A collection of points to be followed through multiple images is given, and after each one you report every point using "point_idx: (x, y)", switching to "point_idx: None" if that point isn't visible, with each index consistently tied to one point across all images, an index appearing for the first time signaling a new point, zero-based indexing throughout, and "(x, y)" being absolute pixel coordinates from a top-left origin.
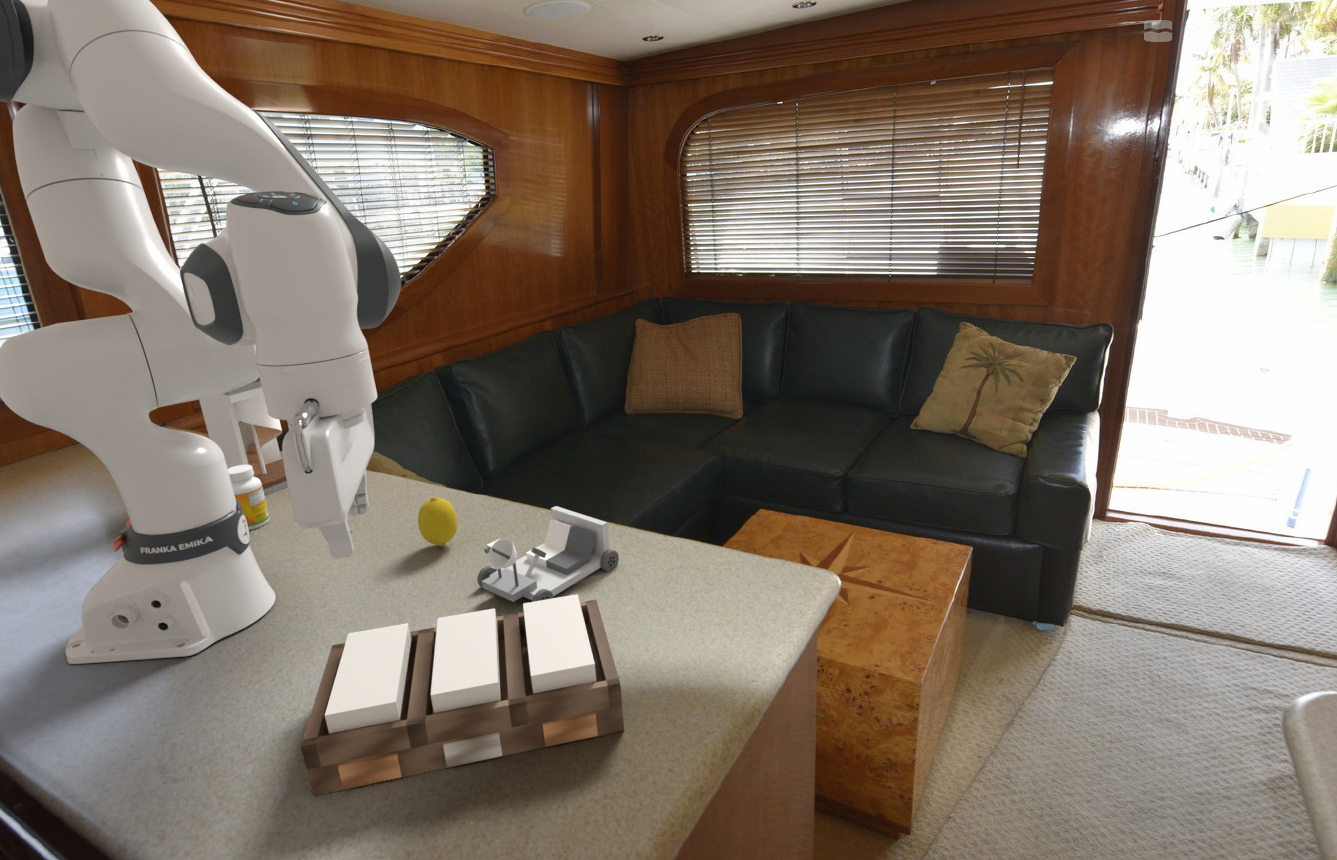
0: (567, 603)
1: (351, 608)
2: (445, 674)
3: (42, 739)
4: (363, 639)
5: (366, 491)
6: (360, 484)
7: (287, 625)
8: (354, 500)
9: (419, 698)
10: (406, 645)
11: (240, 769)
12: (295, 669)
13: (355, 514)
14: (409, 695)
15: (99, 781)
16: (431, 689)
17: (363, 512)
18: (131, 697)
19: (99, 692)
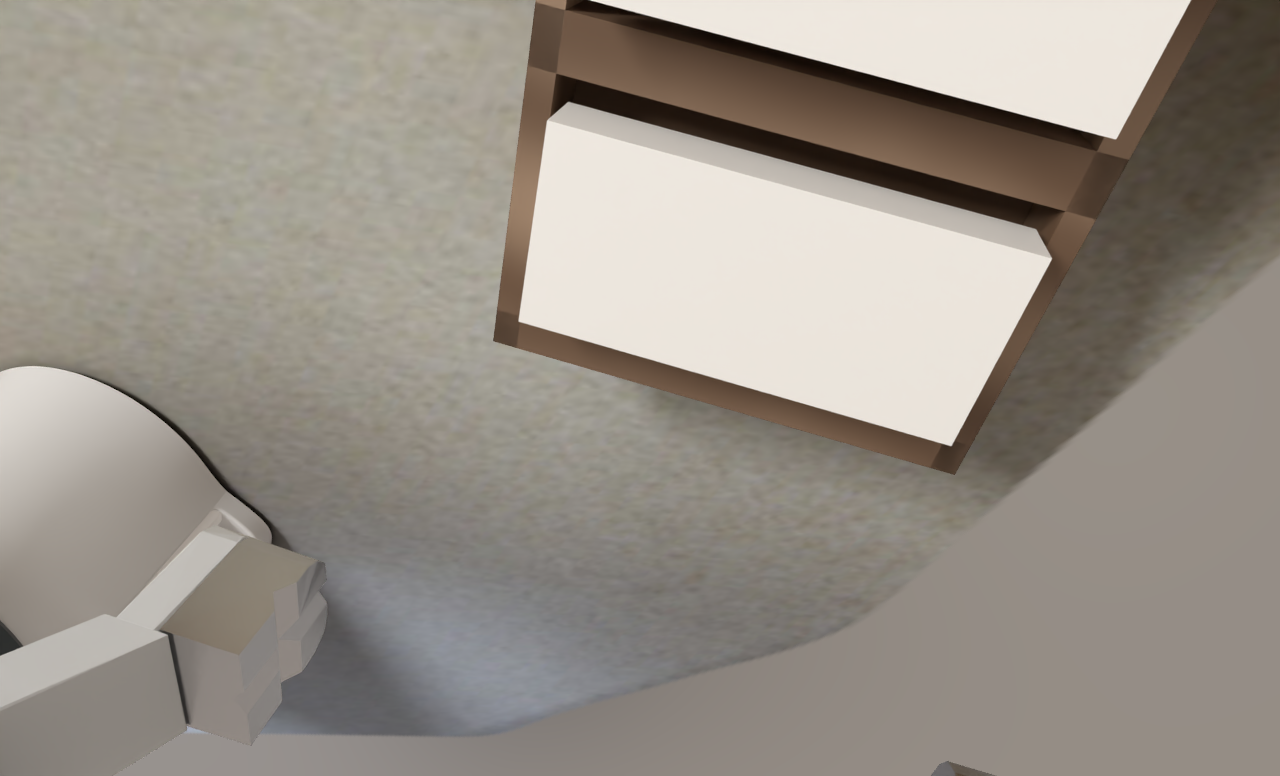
0: None
1: (133, 192)
2: (1020, 53)
3: (459, 709)
4: (581, 285)
5: (122, 618)
6: (75, 705)
7: (189, 353)
8: (252, 687)
9: (979, 150)
10: (676, 148)
11: (736, 489)
12: (403, 359)
13: (324, 609)
14: (800, 142)
15: (627, 659)
16: (1080, 128)
17: (316, 573)
18: (385, 614)
19: (348, 649)
